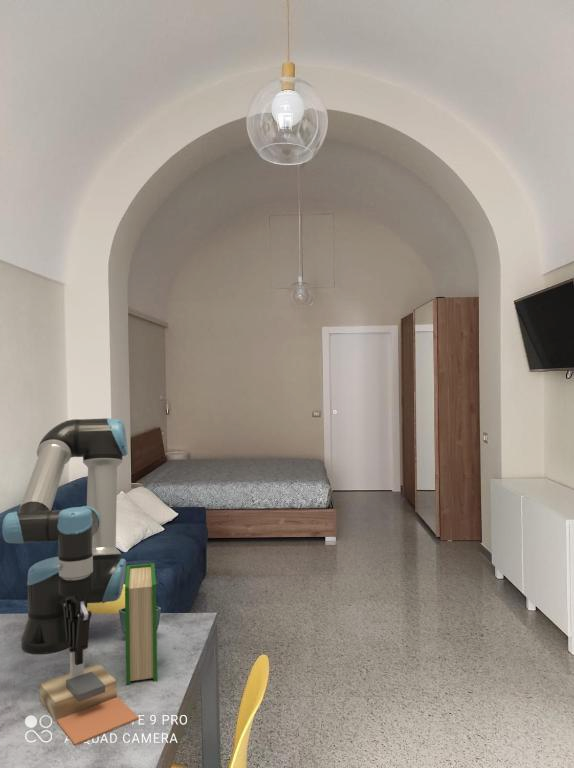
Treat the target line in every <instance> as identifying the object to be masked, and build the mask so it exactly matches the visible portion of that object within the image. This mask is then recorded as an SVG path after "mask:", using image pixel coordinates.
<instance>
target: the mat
mask: <svg viewBox="0 0 574 768" xmlns="http://www.w3.org/2000/svg"><path fill="white" fill-rule="evenodd" d="M139 719H140V718H139V716H138V715H137V714H136V713H135V712H134V711H133V710H132V709H131V708H130V707H129V706H128V705H127V704H126V703H125V702H124V701H122V700H121V698H120V697H119V696H117V697H116V698H114V699H111V700H108V701H106V702H103V703H100V704H98V705H95V706H92V707H90V708H87V709H85V710H82V711H79V712H77V713H74V714H71V715H69V716H66V717H63V718H61V719H58V720H57V721H56V723H57V724H58V726H59V727H60V729H61V730H62V731H63V732H64V734H65V735H66V736H67V738H68V739H69V740H70V741H71V743H72V744H73V746H78V745H80V744H82V743H85V742H88V741H90V740H92V739H94V738H97V737H99V736H102V735H104V734H107V733H108V731H109V732H111V731H114V730H115V728H116V729H118V727H119V728H121V727H124V726H126V725H128V724H131V723H133V722H135V721H137V720H139ZM123 725H124V726H123ZM113 729H114V730H113ZM106 732H107V733H106Z"/></svg>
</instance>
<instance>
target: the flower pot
mask: <svg viewBox="0 0 574 768" xmlns="http://www.w3.org/2000/svg"><path fill="white" fill-rule="evenodd" d="M161 610H162V607H160V606H157V605H156V624H157V630H158V629H159V625H160V621H161V620H160V619H161ZM118 616H119V623H120V628H121V631H122V633H123V635H124V636H125V637H126V631H125V607H122V608H120V609H119V610H118Z"/></svg>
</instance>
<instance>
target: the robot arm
mask: <svg viewBox="0 0 574 768" xmlns="http://www.w3.org/2000/svg"><path fill="white" fill-rule="evenodd" d="M128 449H129V448H128V439H127V433H126V427H125V424H124V421H122V420H121V419H119V418H108V417H105V418H84V419H83V418H81V419H76V418H75V419H74V418H73V419H68V420H65V421H63V422H61V423H58V424H57V425H55V426H54V427H52V428H51V429H50V430H49V431H47V433H46V434H45V435H44V436H43V437H42V439H41V441H40V442H39V444H38V447H37V449H36V456H37V460H36V462H35V465H34V468H33V470H32V473H31V476H30V479H29V482H28V484H27V486H26V490H25V492H24V494H23V495H24V496H23V498H22V500H21V503H20V506H19V509H18V511H12V512H8V513H7V514H5V516H4V518H3V521H2V527H1V528H2V537H3V538H2V539H3V540H4V541H5V543H8V544H24V545H25V544H28V543H29V544H30V543H31V544H33V543H44V542H45V543H46V542H58V543H57V544H58V556H54V557H50V558H49V557H48V558H45V559H43V560H40V561H38V562H36V563H34V564H33V565H31V566H30V567H29V569H28V572H27V582H26V585H27V621H26V623H25V627H24V631H23V634H22V636H21V649H22V650H23V651H24V652H26V653H29V654H30V653H31V654H41V655H42V654H49V653H50V654H51V653H55V652H58V651H62V650H64V649H67V648H69V650H68V651H69V673H70V677H71V678H74V677H77V676H80V675H83V674H84V668H85V658H84V657H85V655H84V654H85V652H84V651H85V650H86V649H88V647H89V635H90V634H89V633H90V623H91V622H90V621H91V617H92V611H91V610H87V609H88V604H97V603H98V604H99V603H101V604H104V603H108V602H115V601H118V600H119V599H120V598H121V595H122V594H123V593H122V592H123V590H124V586H125V579H126V566H127V559H125V558H121V557H122V553H121V552H120V550H119V549H117V501H118V499H117V496H118V495H117V494H118V493H117V490H118V489H117V488H118V467H119V466H120V465H121V464H122V463H123V457H125V456H127V455H128V452H129V451H128ZM72 458H82V463H83V464H84V465H85V466H86V467H87V488H86V489H87V490H86V505H83V506H76V507H68V508H64V509H57V510H52V508H53V505H54V502H55V499H56V495H57V491H58V489H59V485H60V482H61V478H62V475H63V472H64V469H65V465H66V464H67V463H69V462H70V460H71V459H72Z"/></svg>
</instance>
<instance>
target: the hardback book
mask: <svg viewBox="0 0 574 768" xmlns="http://www.w3.org/2000/svg"><path fill="white" fill-rule="evenodd" d="M156 581H157V580H156V566H155V563H154V562H153V563H142V564H141V563H139V564H129V565H128V564H127V565H126V572H125V579H124V608H125V631H126V636H125V686H131V682H133V681H140V680H147V679H148V680H149V679H153V683H155V682H154V681H156V682H158V640H157V638H158V636H157V635H158V634H157V633H158V629H157V624H156V606H157V582H156Z"/></svg>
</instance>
